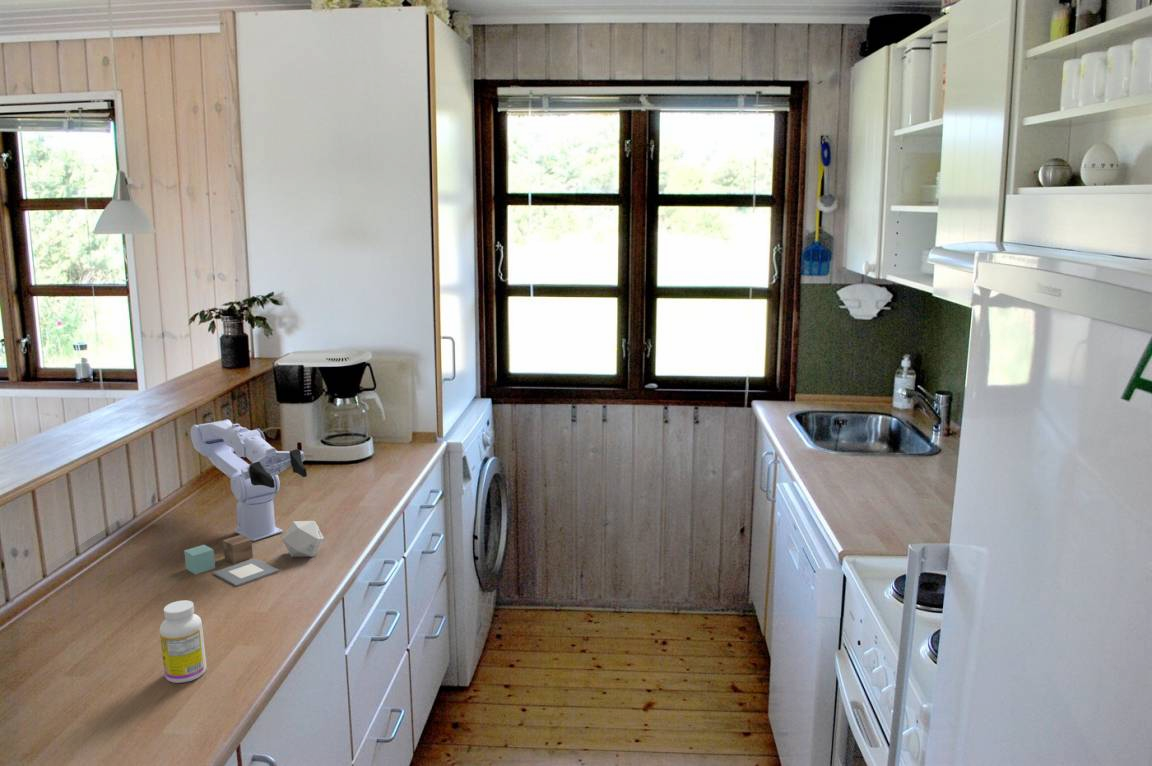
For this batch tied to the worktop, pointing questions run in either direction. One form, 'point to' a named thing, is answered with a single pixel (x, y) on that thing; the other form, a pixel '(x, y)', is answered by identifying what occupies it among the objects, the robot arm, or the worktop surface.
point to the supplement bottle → (182, 643)
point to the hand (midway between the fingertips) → (289, 478)
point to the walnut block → (237, 549)
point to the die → (303, 538)
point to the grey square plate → (246, 572)
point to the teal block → (199, 559)
